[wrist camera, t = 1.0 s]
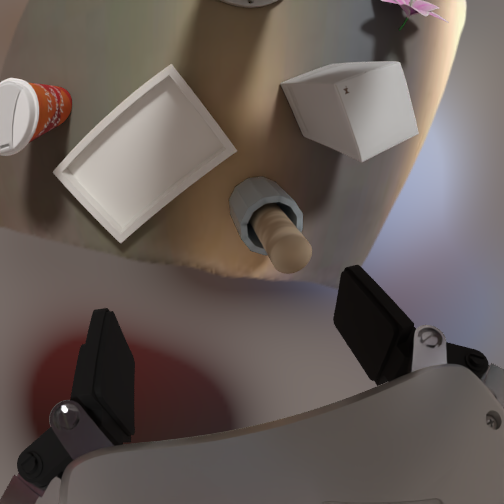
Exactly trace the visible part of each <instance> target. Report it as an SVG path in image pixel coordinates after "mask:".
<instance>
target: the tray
mask: <svg viewBox="0 0 504 504" xmlns="http://www.w3.org/2000/svg"><path fill="white" fill-rule="evenodd" d="M235 152H237V150H236V148H235V147H234V146H233V144H232V143H231V141H230V140H229V139H228V137H227V136H226V135H225V133H224V132H223V131H222V129H221V128H220V126H219V125H218V124H217V122H216V121H215V120H214V118H213V117H212V116H211V114H210V113H209V112H208V110H207V109H206V108H205V106H204V105H203V104H202V102H201V101H200V100H199V99H198V97H197V96H196V95H195V93H194V92H193V91H192V89H191V88H190V87H189V86H188V84H187V83H186V82H185V80H184V79H183V78H182V77H181V75H180V74H179V73H178V72H177V70H176V69H175V68H174V67H173V65H172V64H170V65H169V66H168V67H166V68H165V69H163V70H162V71H161V72H159V73H158V74H157V75H155V76H154V77H153V78H151V79H150V80H149V81H147V82H146V83H145V84H144V85H142V86H141V87H140V88H139V89H137V90H136V91H135V92H134V93H132V94H131V95H130V96H129V97H128V98H126V99H125V100H124V101H123V102H122V103H121V104H119V105H118V106H117V107H116V108H115V109H114V110H113V111H112V112H110V113H109V114H108V115H107V116H106V117H105V118H104V119H103V120H102V121H101V122H100V123H99V124H98V125H96V126H95V127H94V128H93V129H92V130H91V131H90V132H89V133H88V134H87V135H86V136H85V137H84V138H83V139H82V140H81V141H80V142H79V143H78V145H77V146H76V147H75V148H74V149H73V150H72V151H71V152H70V153H69V154H68V155H67V156H66V157H65V159H64V160H63V161H62V162H61V163H60V164H59V165H58V166H57V168H56V169H55V170H54V171H53V173H54V175H55V176H56V177H57V178H58V179H59V180H60V181H61V182H62V183H63V185H64V186H65V187H66V188H67V189H68V190H69V191H70V192H71V193H72V194H73V195H74V197H75V198H76V199H77V200H78V201H79V202H80V203H81V204H82V205H83V206H84V207H85V208H86V209H87V210H88V211H89V212H90V213H91V214H92V215H93V217H94V218H95V219H96V220H97V221H98V222H99V223H100V224H101V225H102V226H103V227H104V228H105V229H106V230H107V231H108V232H109V233H110V234H111V235H112V236H113V237H114V238H115V239H116V240H117V241H118V242H120V243H122V242H123V241H124V240H125V239H126V238H127V237H129V236H130V235H131V234H132V233H133V232H134V231H135V230H137V229H138V228H139V227H140V226H141V225H142V224H144V223H145V222H146V221H147V220H148V219H150V218H151V217H152V216H153V215H154V214H156V213H157V212H158V211H159V210H160V209H162V208H163V207H164V206H165V205H167V204H168V203H169V202H170V201H172V200H173V199H174V198H175V197H177V196H178V195H179V194H180V193H182V192H183V191H184V190H185V189H187V188H188V187H189V186H191V185H192V184H193V183H195V182H196V181H197V180H198V179H200V178H201V177H202V176H204V175H205V174H206V173H208V172H209V171H210V170H212V169H213V168H215V167H216V166H217V165H219V164H220V163H221V162H223V161H224V160H226V159H227V158H228V157H230V156H231V155H233V154H234V153H235Z"/></svg>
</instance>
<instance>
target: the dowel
mask: <svg viewBox="0 0 504 504" xmlns="http://www.w3.org/2000/svg"><path fill="white" fill-rule="evenodd" d="M249 222H250V223H251V225H252V227H253V229H254V231H255V232H256V234H257V236H258V238H259V240H260V241H261V243H262V245H263V247H264V249H265V251H266V252H267V254H268V256H269V258H270V260H271V262H272V263H273V265H274V267H275V268H276V269H277V270H278V271H279V272H282V273H286V274H290V273H295V272H297V271H299V270H301V269H302V268H304V267H305V266H306V265H307V263H308V262H309V260H310V258H311V255H312V248H311V245H310V243H309V242H308V241H307V240H306V238H305V237H304V236H303V235H302V234H301V232H300V231H299V230H298V229H297V227H296V226H295V225H294V224H293V223H292V221H291V220H290V219H289V218H288V217H287V215H286V214H285V213H284V212H283V211H282V209H281V208H280V207H279V206H278V205H277V204H276V202H274V203H267V204H264V205H263V206H261V207H260V208H258V209H257V210H256V211H254V212H253V214H252V216H251V218H250V219H249Z"/></svg>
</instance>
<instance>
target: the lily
mask: <svg viewBox="0 0 504 504" xmlns="http://www.w3.org/2000/svg"><path fill="white" fill-rule="evenodd" d="M381 1H386V2H391V3H395V4H398V3H399V4H400V7H401V8H402V9H403V10H404V12H405V13H406V14H407V17H406V20H405V21H404V23H403V24H402V26H401V27H400V28H399V31H400V30H401V29H402V28H403V26H404V25H405V23H406V22H407V20H408V18H409V17H410V16H411V15H414V14H422V15H424V16H428V15H432V16H435V17H437V18H439V19H442V20H444V21H446V20H445V19H444V18H442V17H441V16H439V15H437V14H436V13H434V12H431V11H432V10H434V9H438V8H439V7H437V6H435V5H433V4H431V3H428V2H425V1H421V0H395V1H394V0H381ZM446 22H447V21H446Z"/></svg>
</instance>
